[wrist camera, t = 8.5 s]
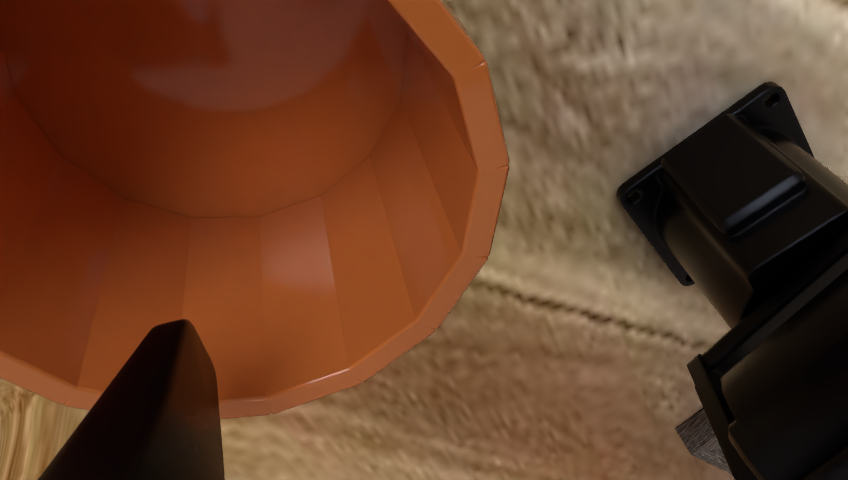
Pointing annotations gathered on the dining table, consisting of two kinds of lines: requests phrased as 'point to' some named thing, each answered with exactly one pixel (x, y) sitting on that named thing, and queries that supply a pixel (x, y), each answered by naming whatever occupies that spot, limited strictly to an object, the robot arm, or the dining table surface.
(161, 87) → the cup
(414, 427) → the dining table surface
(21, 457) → the beer glass
